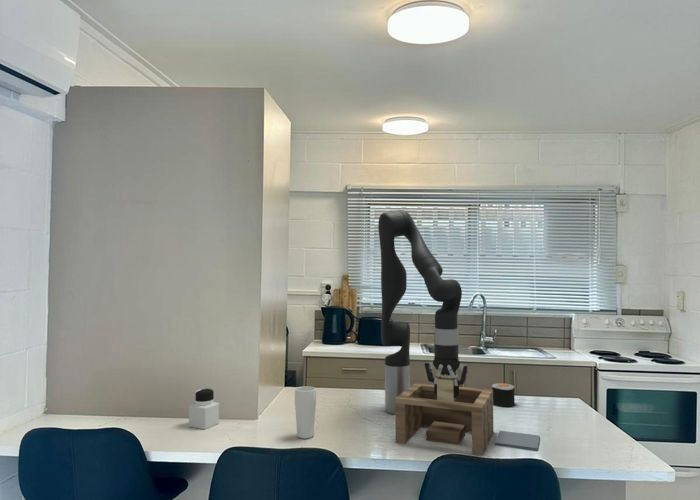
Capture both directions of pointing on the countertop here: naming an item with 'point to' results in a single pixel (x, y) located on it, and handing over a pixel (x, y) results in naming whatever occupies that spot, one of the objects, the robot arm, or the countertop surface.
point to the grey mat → (517, 440)
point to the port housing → (445, 416)
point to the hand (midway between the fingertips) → (446, 396)
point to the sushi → (503, 395)
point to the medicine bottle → (204, 410)
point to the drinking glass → (305, 411)
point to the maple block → (445, 389)
